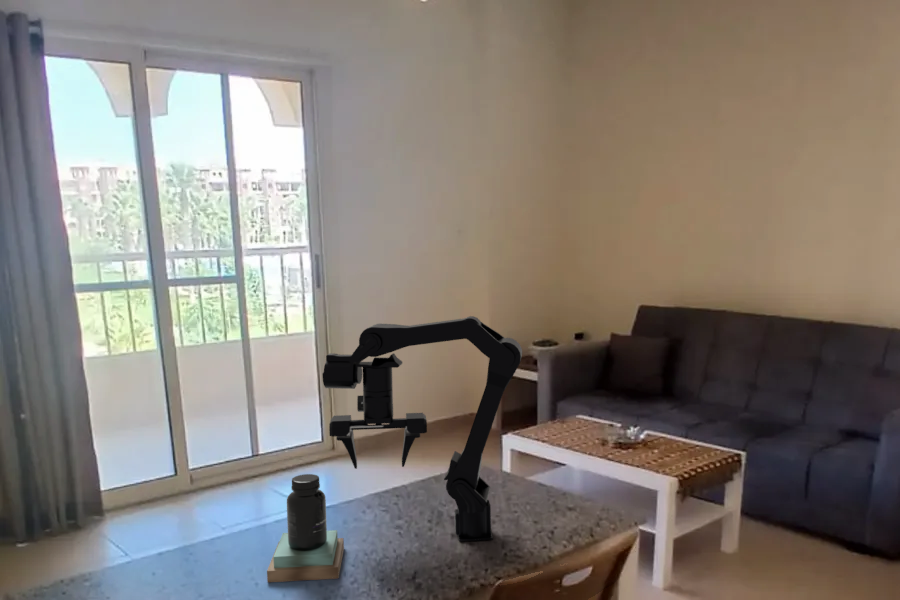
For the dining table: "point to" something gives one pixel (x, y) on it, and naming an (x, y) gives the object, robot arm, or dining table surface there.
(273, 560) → the tower base
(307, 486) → the supplement bottle
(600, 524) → the dining table surface
